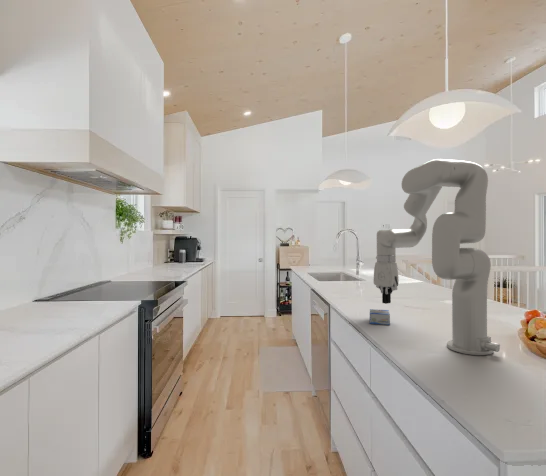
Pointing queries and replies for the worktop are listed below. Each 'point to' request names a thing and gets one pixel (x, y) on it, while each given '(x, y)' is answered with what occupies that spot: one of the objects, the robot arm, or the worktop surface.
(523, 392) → the worktop surface
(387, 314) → the medicine box
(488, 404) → the worktop surface
